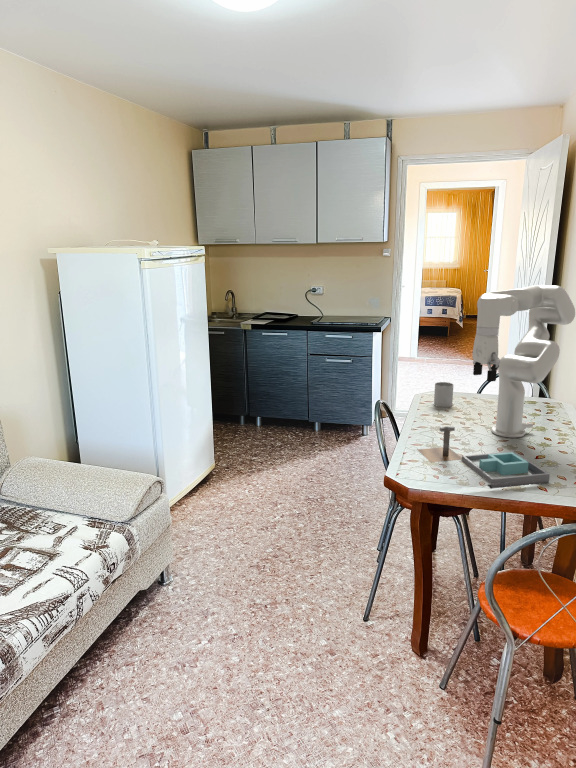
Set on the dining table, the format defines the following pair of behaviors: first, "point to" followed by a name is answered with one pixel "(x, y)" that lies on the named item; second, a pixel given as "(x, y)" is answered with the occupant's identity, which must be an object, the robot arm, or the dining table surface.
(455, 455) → the stake board
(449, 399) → the cup
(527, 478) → the tray
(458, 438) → the dining table surface
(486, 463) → the teal hollow frame
